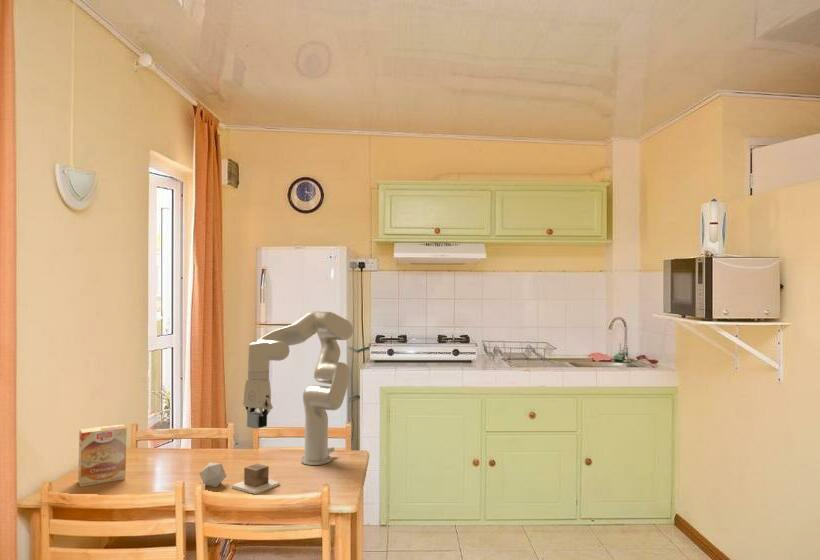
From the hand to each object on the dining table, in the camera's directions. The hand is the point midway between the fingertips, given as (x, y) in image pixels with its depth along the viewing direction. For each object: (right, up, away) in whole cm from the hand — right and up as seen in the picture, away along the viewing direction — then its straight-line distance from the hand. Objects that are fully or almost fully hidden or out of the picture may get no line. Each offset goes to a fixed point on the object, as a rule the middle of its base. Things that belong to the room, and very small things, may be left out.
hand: (257, 425), depth 205 cm
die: (-16, -22, -1) cm, 27 cm away
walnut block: (0, -21, -2) cm, 21 cm away
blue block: (0, -1, 0) cm, 1 cm away
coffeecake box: (-59, -22, +3) cm, 63 cm away
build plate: (0, -22, -2) cm, 22 cm away
